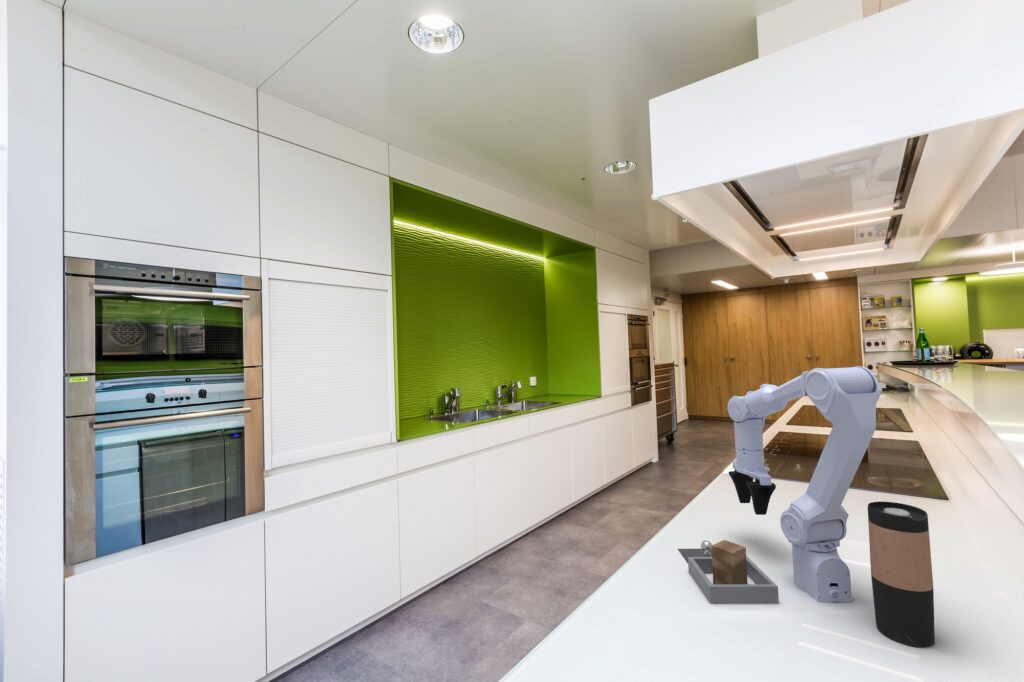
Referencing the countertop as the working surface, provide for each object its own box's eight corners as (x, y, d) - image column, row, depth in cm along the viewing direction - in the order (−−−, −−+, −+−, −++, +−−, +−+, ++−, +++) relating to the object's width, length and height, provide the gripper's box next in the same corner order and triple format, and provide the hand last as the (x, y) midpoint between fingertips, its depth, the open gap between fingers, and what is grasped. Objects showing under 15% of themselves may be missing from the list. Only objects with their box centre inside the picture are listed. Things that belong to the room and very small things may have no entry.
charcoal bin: (779, 609, 80) (777, 586, 80) (710, 609, 81) (709, 586, 81) (748, 576, 92) (747, 556, 92) (688, 576, 93) (687, 556, 93)
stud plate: (741, 573, 93) (739, 550, 93) (692, 574, 94) (690, 550, 94) (721, 552, 103) (720, 531, 103) (677, 553, 104) (676, 532, 104)
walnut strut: (747, 589, 86) (745, 546, 86) (735, 597, 83) (732, 553, 84) (726, 580, 90) (724, 539, 90) (713, 587, 87) (711, 545, 87)
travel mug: (874, 614, 78) (867, 498, 78) (934, 630, 73) (926, 506, 73) (874, 637, 72) (866, 511, 72) (939, 655, 67) (930, 520, 68)
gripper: (784, 455, 95) (788, 519, 95) (752, 441, 110) (755, 497, 109) (750, 455, 96) (753, 520, 95) (722, 442, 110) (725, 498, 110)
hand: (752, 508), depth 102 cm, fingers open, 7 cm apart
